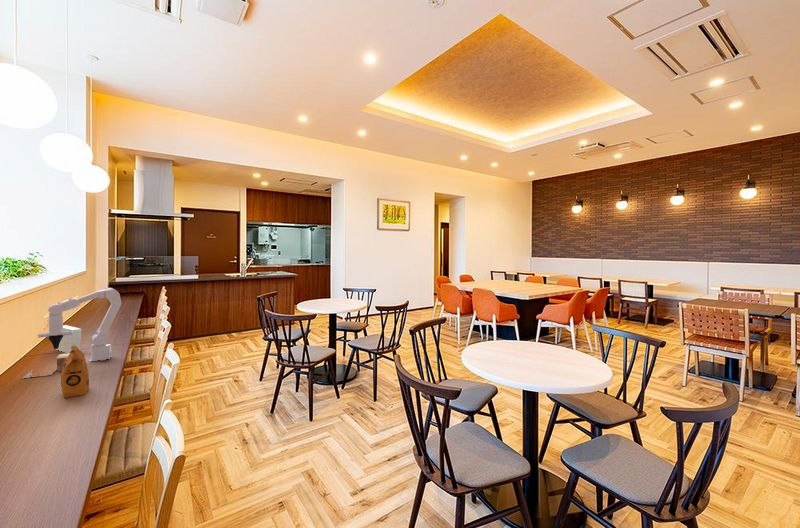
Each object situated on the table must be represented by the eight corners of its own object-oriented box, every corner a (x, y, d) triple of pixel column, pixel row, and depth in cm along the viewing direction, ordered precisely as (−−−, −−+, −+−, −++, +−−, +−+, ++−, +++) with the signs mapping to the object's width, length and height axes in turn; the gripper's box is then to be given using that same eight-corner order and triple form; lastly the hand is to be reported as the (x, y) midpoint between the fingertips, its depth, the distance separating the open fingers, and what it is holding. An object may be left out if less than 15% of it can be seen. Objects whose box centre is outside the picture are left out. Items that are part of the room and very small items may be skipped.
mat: (62, 364, 199) (62, 363, 199) (51, 375, 182) (51, 374, 182) (36, 367, 193) (36, 366, 193) (21, 379, 176) (21, 378, 176)
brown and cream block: (69, 367, 195) (69, 353, 195) (66, 370, 190) (66, 356, 190) (60, 368, 193) (60, 354, 193) (56, 371, 188) (56, 357, 188)
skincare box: (82, 352, 221) (81, 328, 220) (71, 354, 216) (71, 330, 215) (66, 347, 230) (65, 324, 229) (55, 349, 225) (55, 326, 224)
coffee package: (58, 400, 155) (57, 352, 154) (62, 390, 164) (62, 345, 164) (87, 394, 161) (87, 349, 160) (90, 386, 171) (90, 342, 170)
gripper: (75, 322, 202) (75, 345, 203) (40, 324, 194) (41, 348, 195) (71, 325, 196) (71, 348, 197) (36, 327, 188) (36, 351, 189)
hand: (56, 348), depth 195 cm, fingers closed
